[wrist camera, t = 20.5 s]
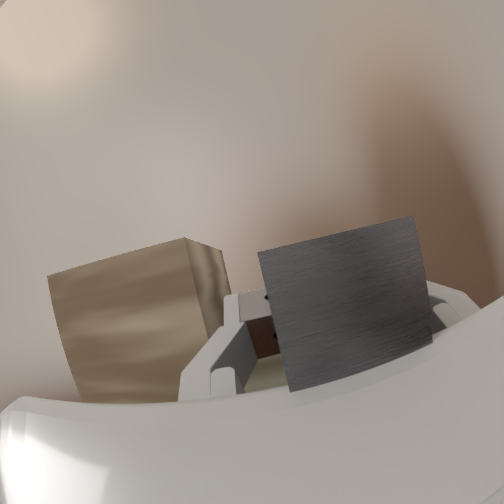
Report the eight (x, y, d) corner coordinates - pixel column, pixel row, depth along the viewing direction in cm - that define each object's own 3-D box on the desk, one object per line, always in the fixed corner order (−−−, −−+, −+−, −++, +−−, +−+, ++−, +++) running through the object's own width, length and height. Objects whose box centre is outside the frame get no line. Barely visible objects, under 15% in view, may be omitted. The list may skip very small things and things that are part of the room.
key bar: (432, 400, 4) (412, 215, 4) (302, 448, 4) (257, 252, 4) (304, 299, 23) (294, 254, 23) (270, 307, 23) (260, 262, 23)
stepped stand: (392, 514, 11) (371, 195, 12) (176, 544, 11) (47, 275, 12) (356, 443, 23) (320, 227, 24) (199, 471, 23) (132, 272, 24)
